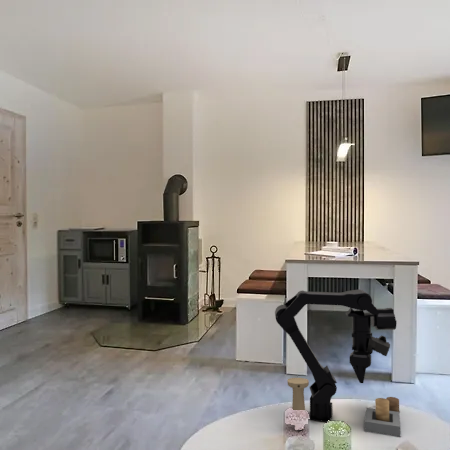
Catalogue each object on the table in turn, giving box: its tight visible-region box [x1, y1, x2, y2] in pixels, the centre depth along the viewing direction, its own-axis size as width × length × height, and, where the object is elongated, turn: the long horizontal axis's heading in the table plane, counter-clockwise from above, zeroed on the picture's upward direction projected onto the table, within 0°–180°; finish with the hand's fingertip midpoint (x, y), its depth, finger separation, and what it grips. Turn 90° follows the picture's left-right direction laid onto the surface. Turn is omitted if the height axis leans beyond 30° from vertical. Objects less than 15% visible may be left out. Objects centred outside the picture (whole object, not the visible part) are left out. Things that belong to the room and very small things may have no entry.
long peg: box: [374, 397, 389, 422], centre depth 131 cm, size 4×4×8 cm
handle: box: [287, 377, 310, 411], centre depth 131 cm, size 5×6×15 cm
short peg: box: [385, 396, 400, 412], centre depth 142 cm, size 4×4×4 cm
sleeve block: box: [364, 407, 401, 438], centre depth 131 cm, size 10×10×3 cm
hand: (362, 377), depth 137 cm, fingers open, 9 cm apart
